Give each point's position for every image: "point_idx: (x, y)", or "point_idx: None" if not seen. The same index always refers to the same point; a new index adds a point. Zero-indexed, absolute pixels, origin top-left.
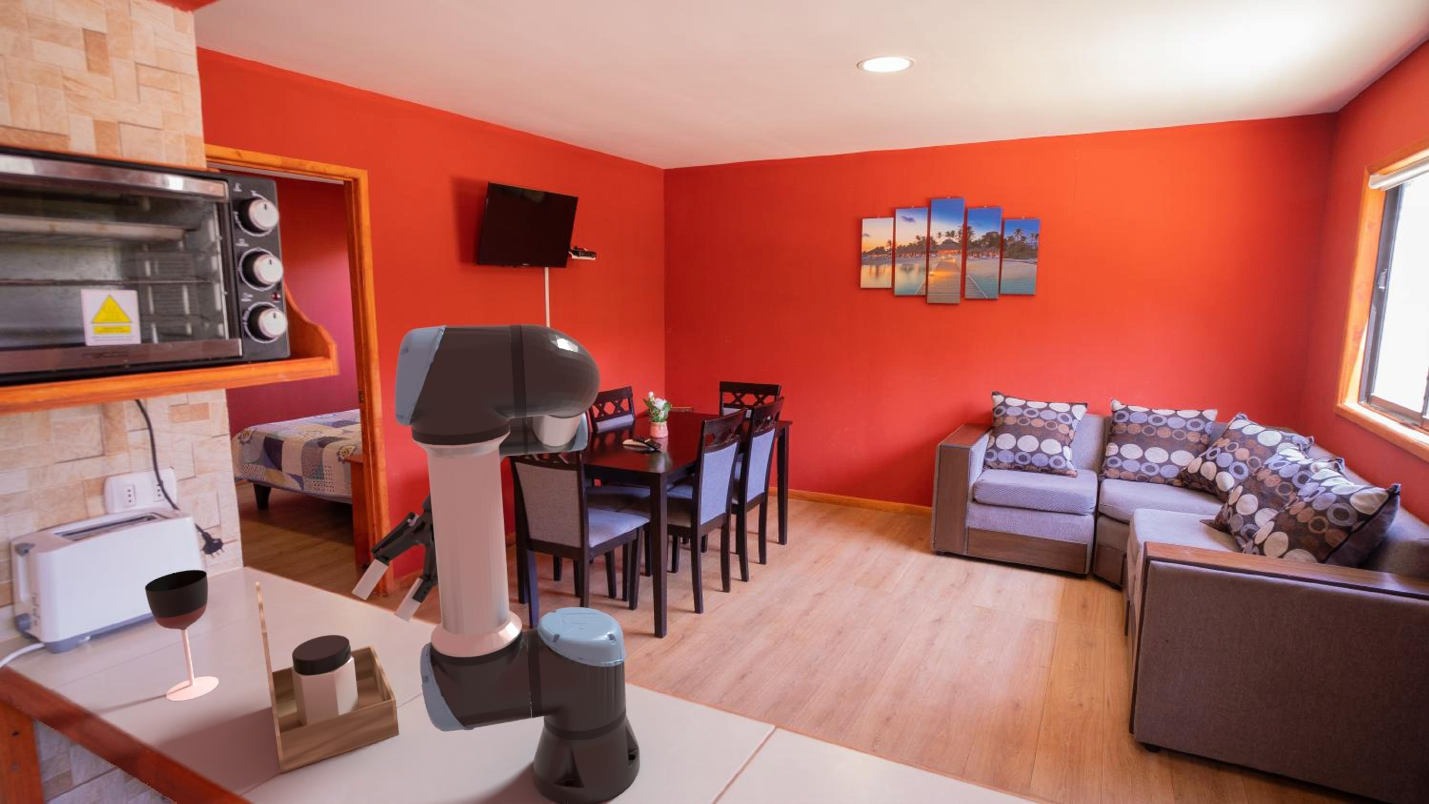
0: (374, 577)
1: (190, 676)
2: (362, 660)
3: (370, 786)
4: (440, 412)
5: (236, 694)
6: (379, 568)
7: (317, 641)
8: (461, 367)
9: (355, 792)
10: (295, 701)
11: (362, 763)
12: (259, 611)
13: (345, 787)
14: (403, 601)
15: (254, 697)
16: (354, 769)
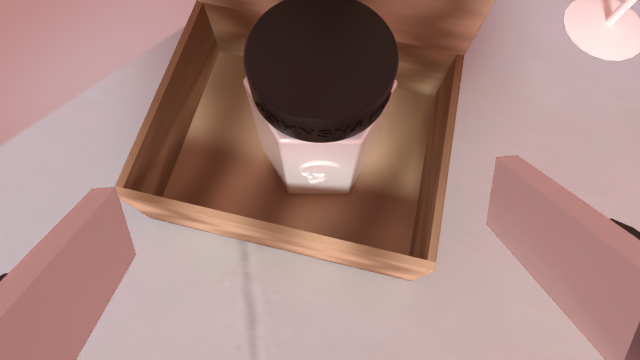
0: (555, 262)
1: (619, 6)
2: (421, 244)
3: (60, 123)
4: None
5: (529, 67)
6: (601, 299)
7: (366, 56)
8: None
9: (69, 103)
10: (418, 123)
11: (129, 138)
12: None
13: (95, 98)
14: (70, 225)
15: (496, 84)
16: (125, 123)
